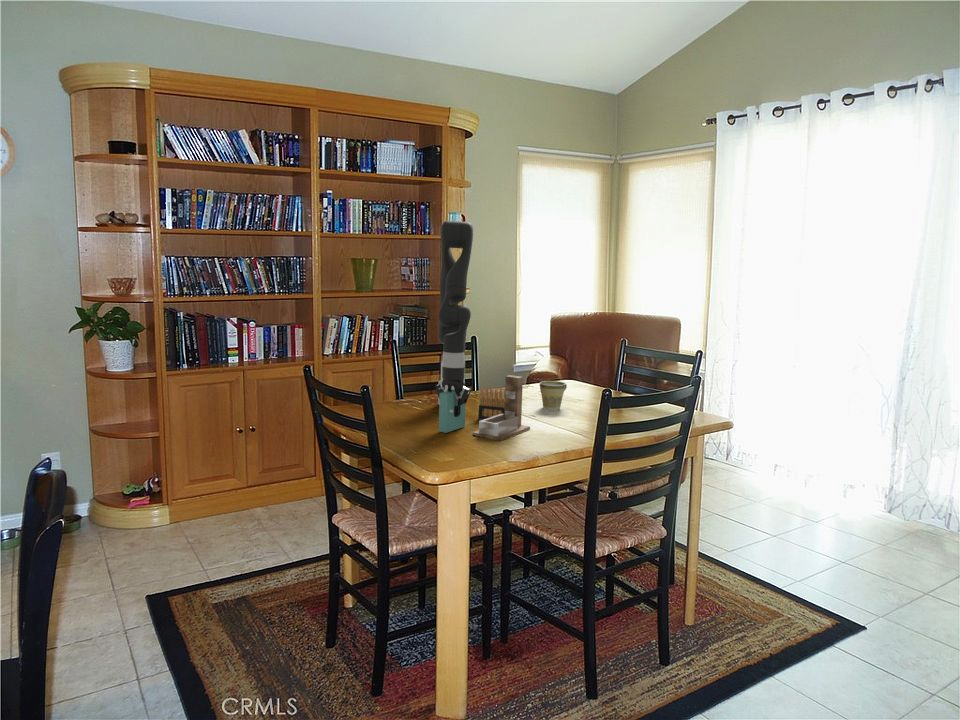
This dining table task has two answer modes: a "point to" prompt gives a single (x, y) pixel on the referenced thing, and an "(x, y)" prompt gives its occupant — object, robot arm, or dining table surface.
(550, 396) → the ceramic cup
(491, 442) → the dining table surface
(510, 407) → the hinge frame
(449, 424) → the teal door
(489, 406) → the ammunition clip
